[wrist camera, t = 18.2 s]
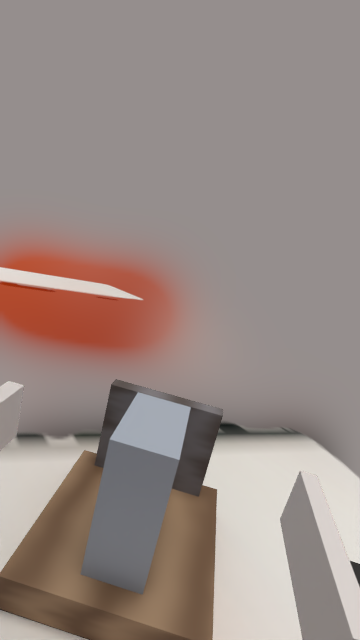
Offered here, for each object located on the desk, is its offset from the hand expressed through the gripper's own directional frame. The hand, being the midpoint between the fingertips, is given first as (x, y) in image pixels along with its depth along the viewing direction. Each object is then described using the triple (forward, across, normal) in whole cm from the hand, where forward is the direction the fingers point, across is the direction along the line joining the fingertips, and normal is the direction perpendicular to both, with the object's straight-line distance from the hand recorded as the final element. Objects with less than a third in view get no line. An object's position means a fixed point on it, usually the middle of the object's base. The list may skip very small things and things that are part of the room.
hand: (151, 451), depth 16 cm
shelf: (+12, 0, -20) cm, 24 cm away
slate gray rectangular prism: (+10, -1, -17) cm, 20 cm away
